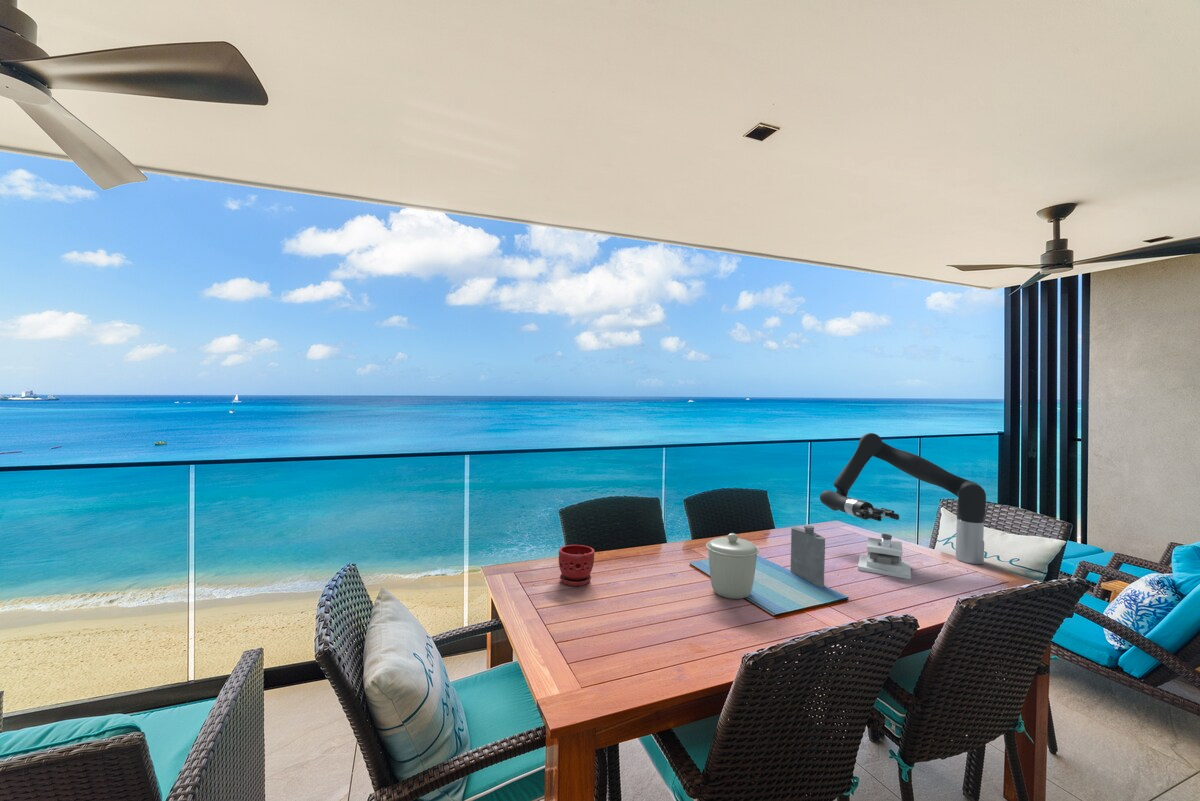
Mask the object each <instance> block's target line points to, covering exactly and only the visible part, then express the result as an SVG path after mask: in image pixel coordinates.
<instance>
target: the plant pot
mask: <svg viewBox="0 0 1200 801" xmlns="http://www.w3.org/2000/svg"><path fill="white" fill-rule="evenodd" d="M594 562H595V549H594V548H592V547H591V546H588V545H582V544H569V545H563V546H561V547H560V548H559V549H558V566H559V569H560V572H561V574H560V575H559V579H560V581H561V582H562V583H563V584H565V585H568V586H574V587H575V586H576V587H578V586H584V585H587V584H588V583H589V582H590V581H591V579H592V575H591V573H592V571H593V568H594Z"/></svg>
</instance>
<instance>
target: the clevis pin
mask: <svg viewBox="0 0 1200 801" xmlns="http://www.w3.org/2000/svg"><path fill="white" fill-rule="evenodd" d="M892 538H893V536H892V534H888V533H881V539H882V542H881V546H885V547H890V546H891V541H892Z"/></svg>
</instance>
